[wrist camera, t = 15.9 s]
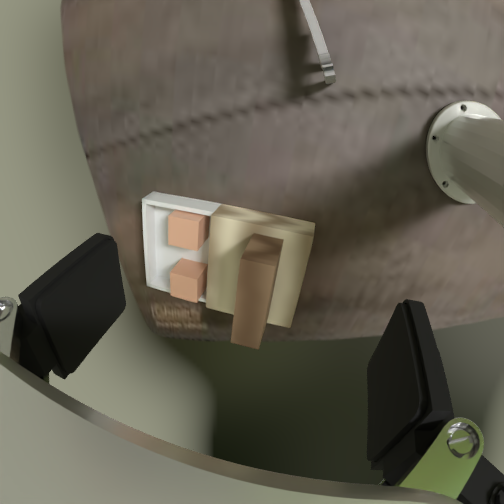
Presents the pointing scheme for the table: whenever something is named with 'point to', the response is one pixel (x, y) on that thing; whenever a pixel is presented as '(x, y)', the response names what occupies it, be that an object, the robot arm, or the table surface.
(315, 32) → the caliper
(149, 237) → the tray
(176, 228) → the pink cube
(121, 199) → the table surface
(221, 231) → the beige flat block
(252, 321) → the brown tapered block
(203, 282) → the tan wooden cube
